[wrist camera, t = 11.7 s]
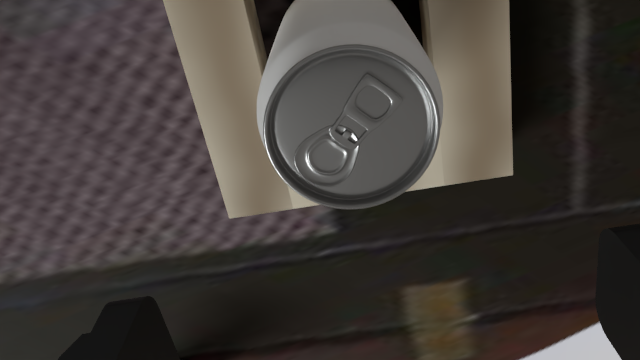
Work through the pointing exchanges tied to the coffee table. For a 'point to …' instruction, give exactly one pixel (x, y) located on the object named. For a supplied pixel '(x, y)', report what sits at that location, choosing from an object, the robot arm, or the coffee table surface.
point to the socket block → (250, 61)
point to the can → (348, 103)
